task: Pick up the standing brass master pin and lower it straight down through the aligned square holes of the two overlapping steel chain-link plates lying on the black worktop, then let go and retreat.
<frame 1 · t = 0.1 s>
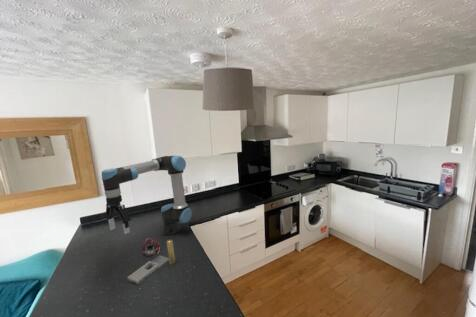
hand: (119, 231, 116), 28 cm above the countertop, fingers open, 13 cm apart
lower link: (155, 264, 126), on the countertop
master pin: (172, 262, 127), on the countertop
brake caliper: (151, 252, 140), on the countertop
upper link: (143, 274, 118), on the countertop
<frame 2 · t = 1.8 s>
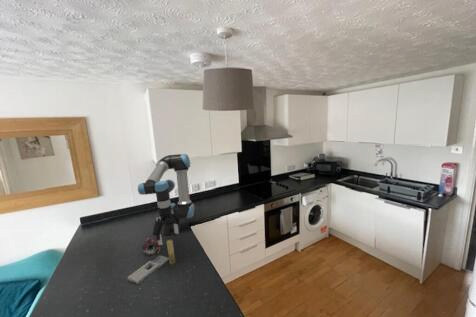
hand: (168, 238, 124), 17 cm above the countertop, fingers open, 13 cm apart
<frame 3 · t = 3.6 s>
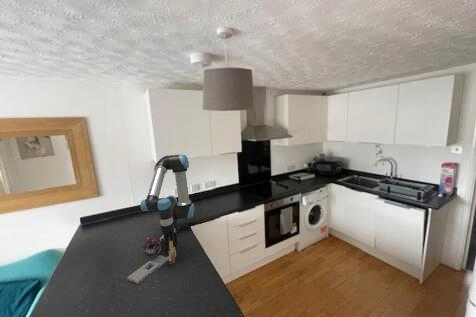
hand: (171, 258, 127), 3 cm above the countertop, fingers closed on master pin, 3 cm apart
master pin: (172, 262, 127), on the countertop, touching gripper
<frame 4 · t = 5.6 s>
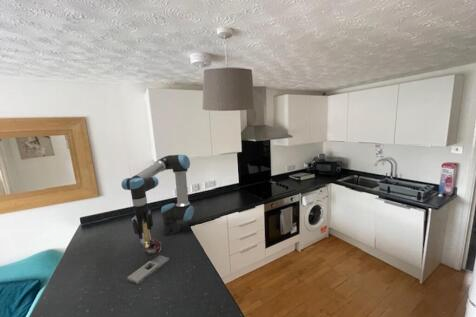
hand: (146, 241, 120), 19 cm above the countertop, fingers closed on master pin, 3 cm apart
master pin: (146, 246, 120), point 15 cm above the countertop, touching gripper
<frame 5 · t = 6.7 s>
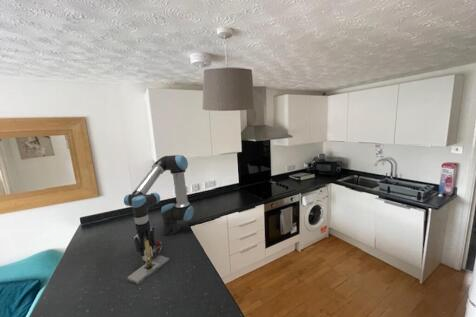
hand: (147, 257, 121), 8 cm above the countertop, fingers closed on master pin, 3 cm apart
master pin: (148, 262, 122), point 4 cm above the countertop, touching gripper
when the fingers open (4 cm above the countertop, at t = 7.7 s): master pin stays where it is, resting in lower link.
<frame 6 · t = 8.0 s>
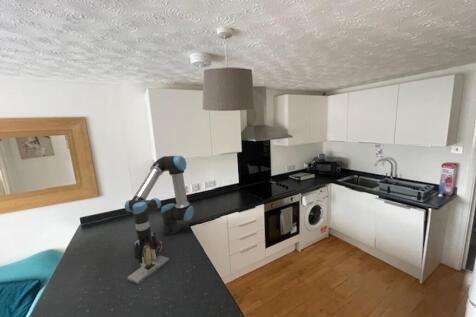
hand: (148, 262, 122), 4 cm above the countertop, fingers open, 7 cm apart
master pin: (149, 269, 122), resting in lower link
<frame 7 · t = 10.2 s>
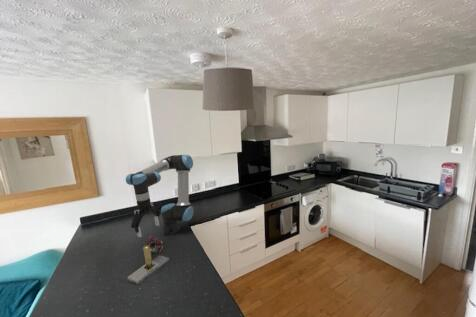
hand: (149, 230, 125), 22 cm above the countertop, fingers open, 13 cm apart
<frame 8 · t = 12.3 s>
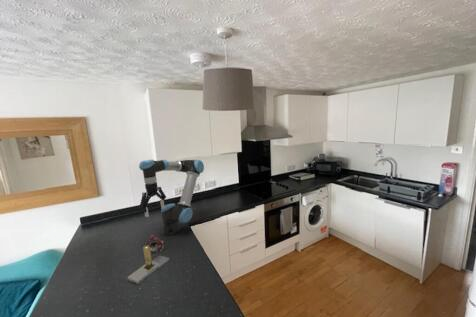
hand: (155, 212, 137), 29 cm above the countertop, fingers open, 13 cm apart
at the end: master pin 0.1 cm from the target spot, resting in lower link; master pin tilted 0°; the gripper is holding nothing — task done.
